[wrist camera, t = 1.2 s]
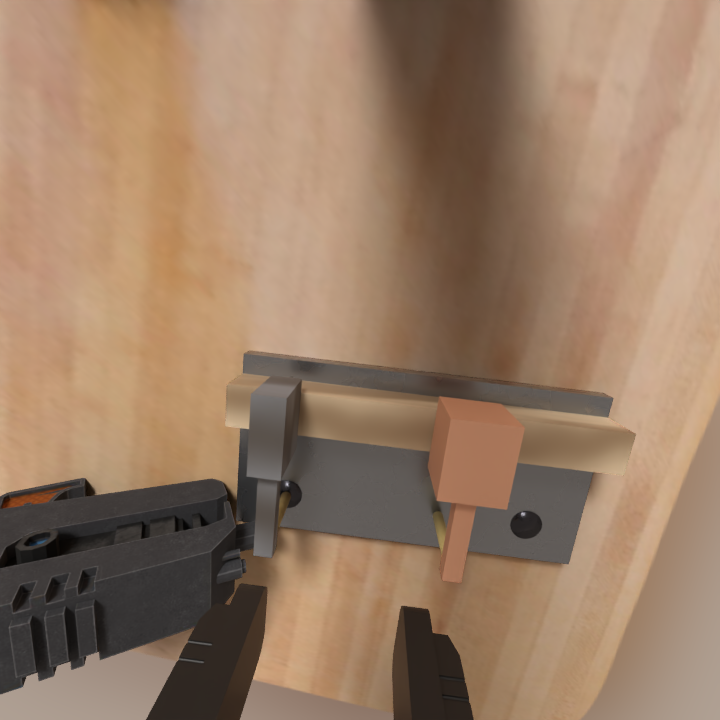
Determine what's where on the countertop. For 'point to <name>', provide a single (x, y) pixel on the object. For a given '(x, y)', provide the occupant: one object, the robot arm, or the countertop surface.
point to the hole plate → (420, 468)
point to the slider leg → (470, 470)
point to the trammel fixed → (388, 433)
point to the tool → (109, 570)
